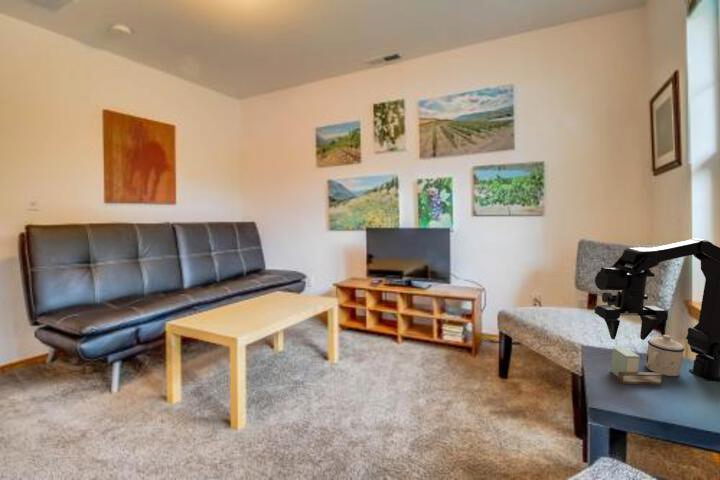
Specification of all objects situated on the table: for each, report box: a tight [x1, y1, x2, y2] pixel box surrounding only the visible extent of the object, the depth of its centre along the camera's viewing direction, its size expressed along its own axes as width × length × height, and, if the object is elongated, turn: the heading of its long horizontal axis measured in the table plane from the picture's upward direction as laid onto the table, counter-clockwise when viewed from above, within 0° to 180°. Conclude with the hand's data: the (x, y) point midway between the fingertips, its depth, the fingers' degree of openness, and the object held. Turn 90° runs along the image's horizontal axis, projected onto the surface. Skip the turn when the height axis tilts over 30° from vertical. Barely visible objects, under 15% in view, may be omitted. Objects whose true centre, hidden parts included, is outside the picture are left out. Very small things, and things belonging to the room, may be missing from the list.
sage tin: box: [610, 347, 641, 377], centre depth 114 cm, size 4×6×8 cm, turn 0°
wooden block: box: [617, 371, 663, 385], centre depth 110 cm, size 12×2×3 cm, turn 90°
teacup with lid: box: [645, 334, 685, 377], centre depth 117 cm, size 12×9×12 cm
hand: (627, 339), depth 113 cm, fingers open, 9 cm apart
